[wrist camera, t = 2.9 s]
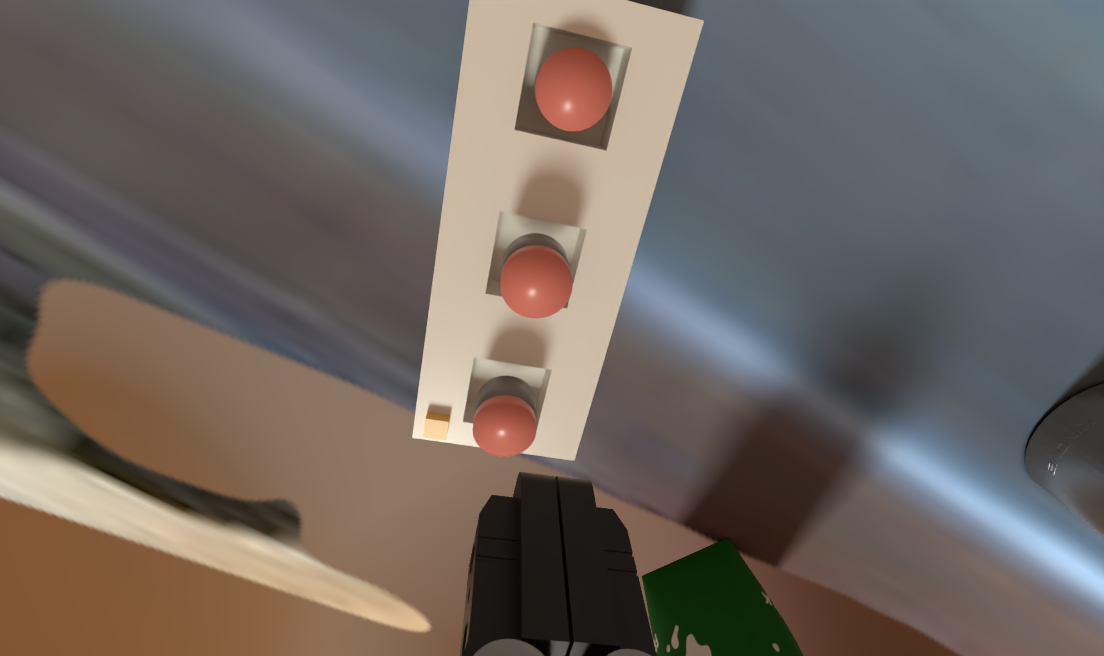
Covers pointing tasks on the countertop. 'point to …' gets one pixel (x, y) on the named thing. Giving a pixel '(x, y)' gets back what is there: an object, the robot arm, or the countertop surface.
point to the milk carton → (714, 608)
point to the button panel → (544, 206)
